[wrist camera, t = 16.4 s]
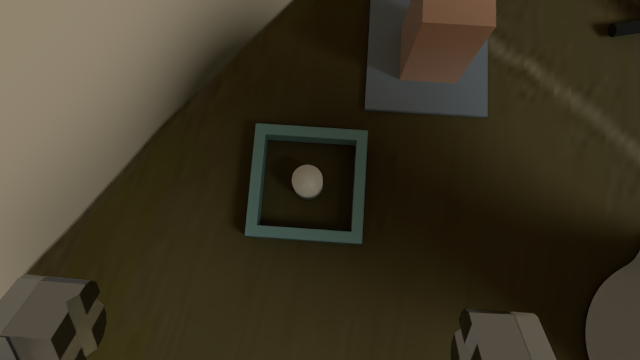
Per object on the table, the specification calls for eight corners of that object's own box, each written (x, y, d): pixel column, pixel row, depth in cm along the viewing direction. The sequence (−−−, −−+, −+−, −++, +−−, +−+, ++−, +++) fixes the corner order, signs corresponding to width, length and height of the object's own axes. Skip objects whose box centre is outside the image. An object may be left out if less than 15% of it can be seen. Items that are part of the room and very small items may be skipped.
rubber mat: (486, 7, 49) (487, 4, 48) (485, 117, 46) (487, 116, 46) (370, 0, 49) (370, -2, 48) (364, 110, 47) (364, 108, 46)
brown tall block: (456, 31, 48) (495, -39, 37) (455, 83, 47) (495, 26, 36) (401, 28, 48) (424, -43, 37) (399, 80, 47) (422, 22, 36)
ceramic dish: (366, 136, 46) (369, 127, 43) (360, 245, 44) (362, 243, 41) (258, 129, 46) (254, 119, 43) (248, 237, 44) (242, 234, 41)
